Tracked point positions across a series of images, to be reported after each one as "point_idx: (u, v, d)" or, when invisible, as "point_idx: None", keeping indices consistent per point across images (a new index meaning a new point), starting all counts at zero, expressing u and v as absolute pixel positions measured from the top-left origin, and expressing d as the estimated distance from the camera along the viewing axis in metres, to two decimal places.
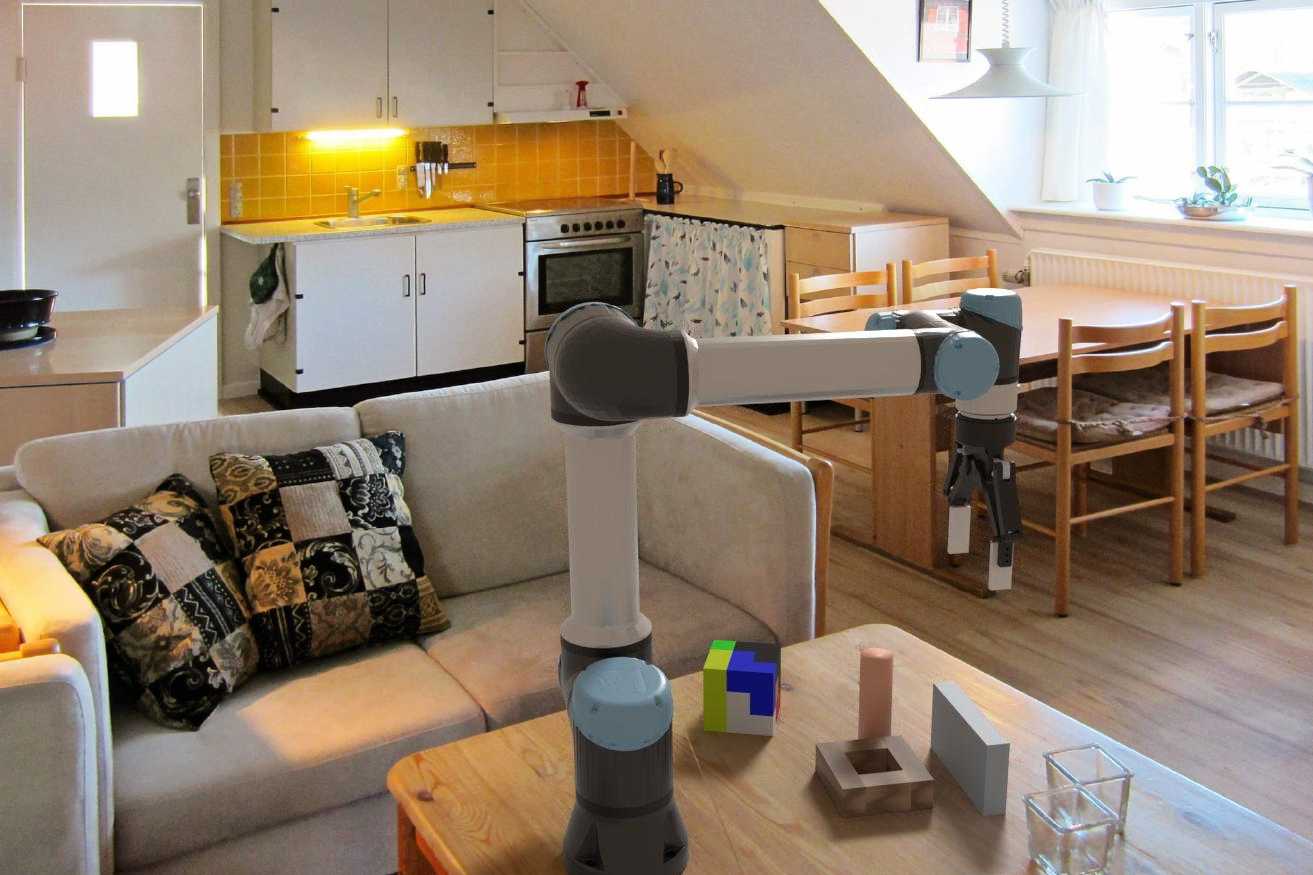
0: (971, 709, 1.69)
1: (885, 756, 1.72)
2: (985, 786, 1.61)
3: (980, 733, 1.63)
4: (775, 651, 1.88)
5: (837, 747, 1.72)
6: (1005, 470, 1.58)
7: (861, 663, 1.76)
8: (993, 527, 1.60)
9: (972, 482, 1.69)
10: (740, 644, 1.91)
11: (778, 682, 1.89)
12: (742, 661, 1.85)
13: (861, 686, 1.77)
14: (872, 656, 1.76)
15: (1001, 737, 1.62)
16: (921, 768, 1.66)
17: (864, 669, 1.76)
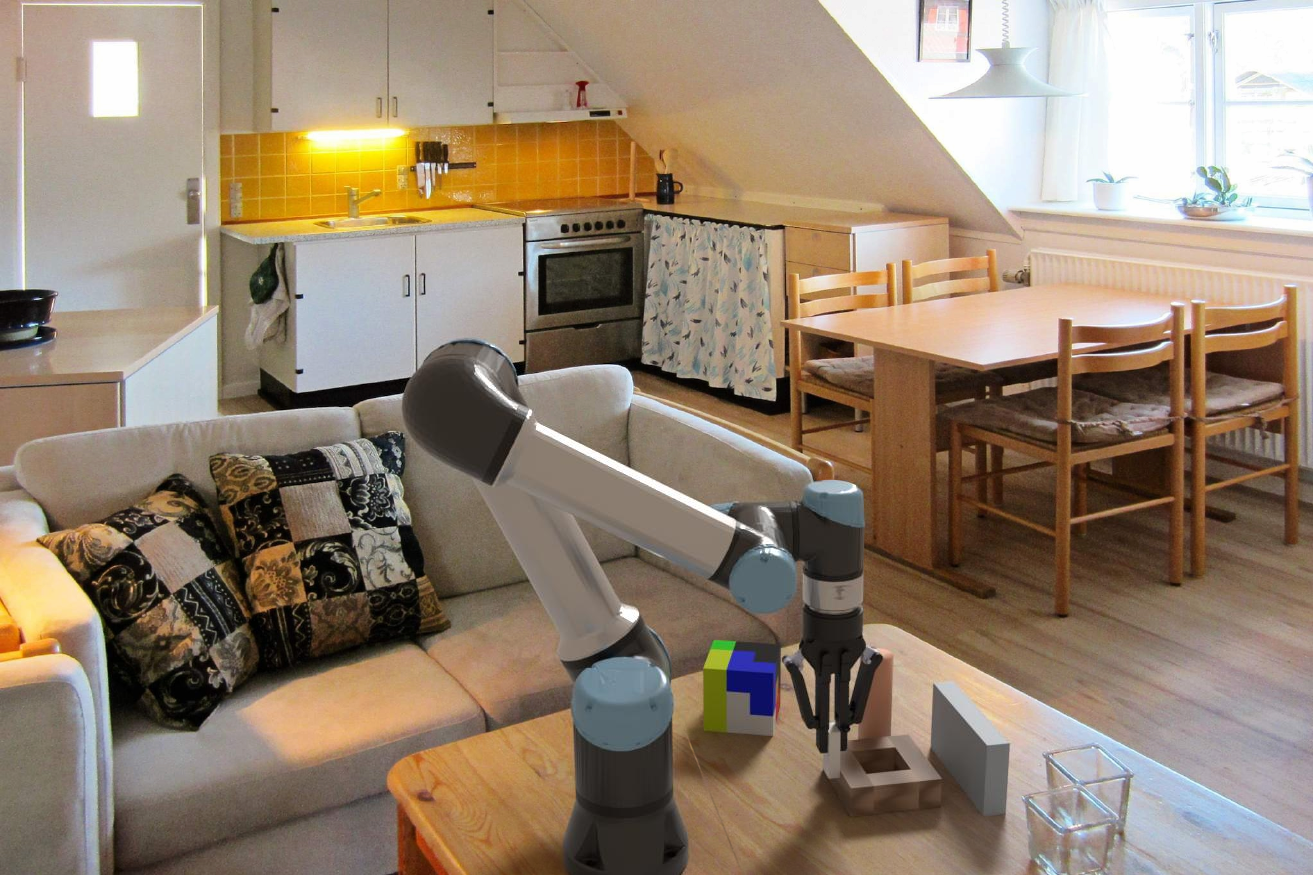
0: (971, 709, 1.69)
1: (893, 755, 1.72)
2: (985, 786, 1.61)
3: (980, 733, 1.63)
4: (775, 651, 1.88)
5: None
6: None
7: None
8: None
9: (837, 686, 1.64)
10: (740, 644, 1.91)
11: (778, 682, 1.89)
12: (742, 661, 1.85)
13: None
14: None
15: (1001, 737, 1.62)
16: (929, 768, 1.66)
17: None
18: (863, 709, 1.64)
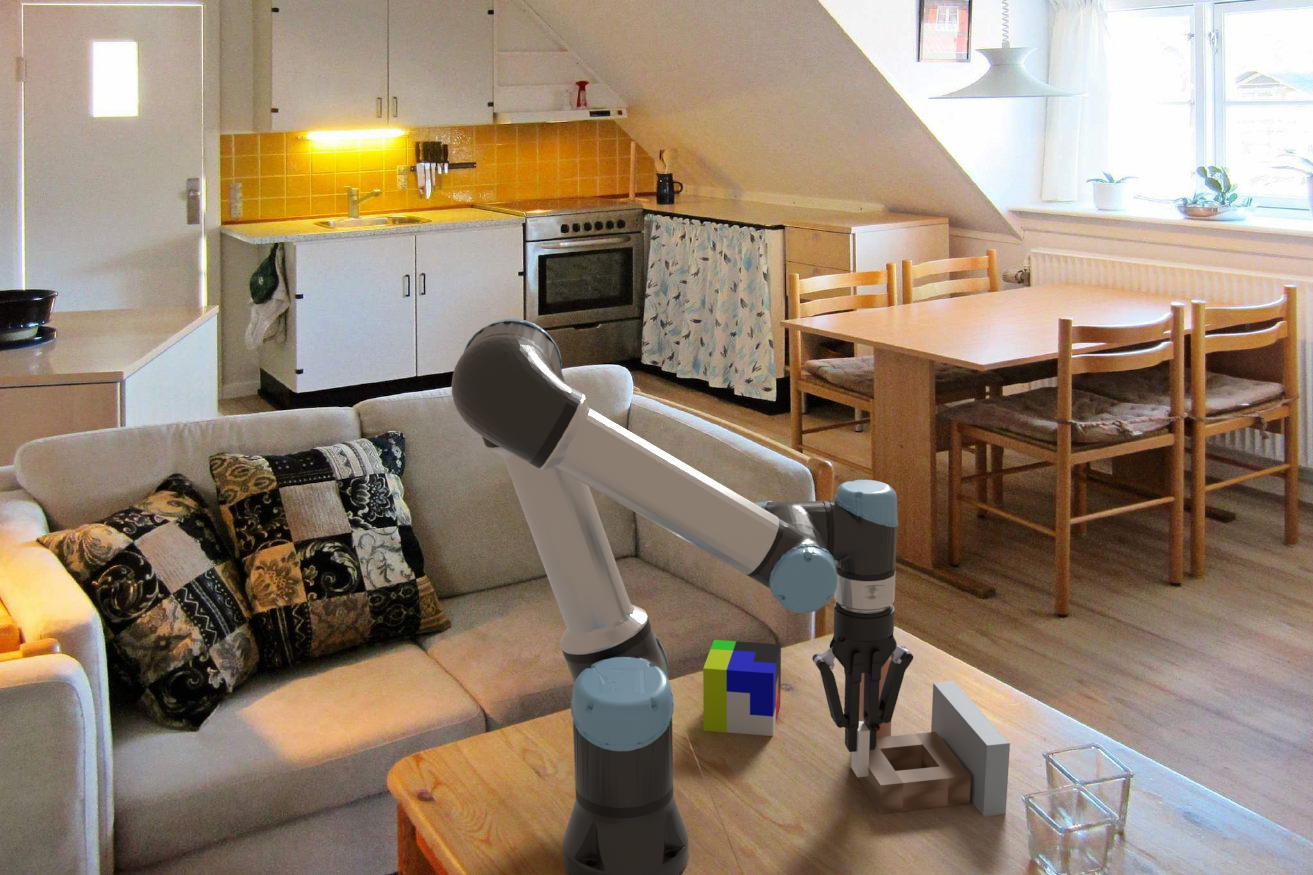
0: (971, 709, 1.69)
1: (920, 752, 1.72)
2: (985, 786, 1.61)
3: (980, 733, 1.63)
4: (775, 651, 1.88)
5: None
6: None
7: None
8: None
9: (867, 685, 1.65)
10: (740, 644, 1.91)
11: (778, 682, 1.89)
12: (742, 662, 1.85)
13: (861, 686, 1.77)
14: None
15: (1001, 737, 1.62)
16: (957, 765, 1.67)
17: None
18: (892, 708, 1.65)
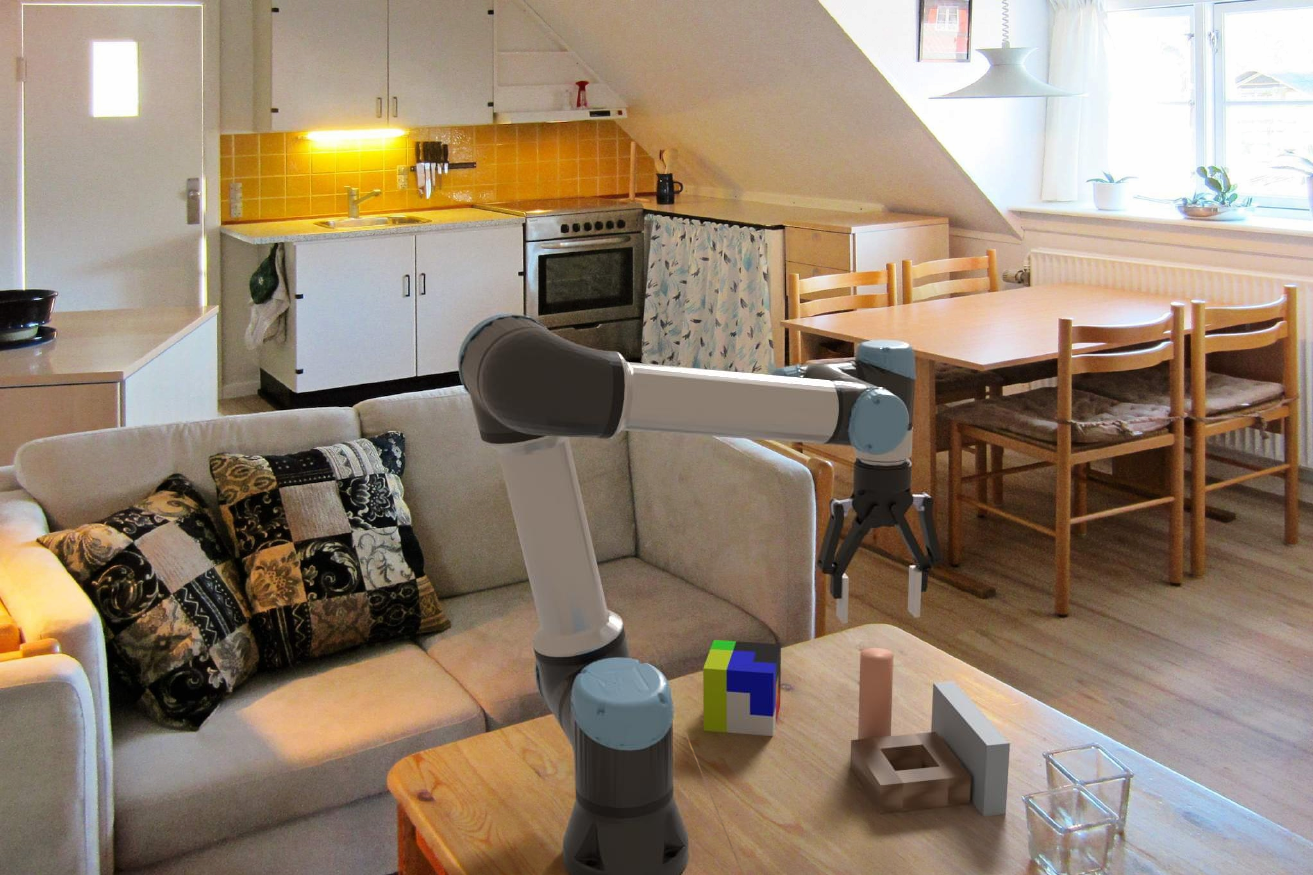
0: (971, 709, 1.69)
1: (920, 752, 1.72)
2: (985, 786, 1.61)
3: (980, 733, 1.63)
4: (775, 651, 1.88)
5: (872, 743, 1.72)
6: (831, 508, 1.70)
7: (861, 663, 1.76)
8: None
9: (903, 536, 1.72)
10: (740, 644, 1.91)
11: (778, 682, 1.89)
12: (742, 661, 1.85)
13: (861, 686, 1.77)
14: (872, 656, 1.76)
15: (1001, 737, 1.62)
16: (957, 765, 1.67)
17: (864, 669, 1.76)
18: (938, 550, 1.73)
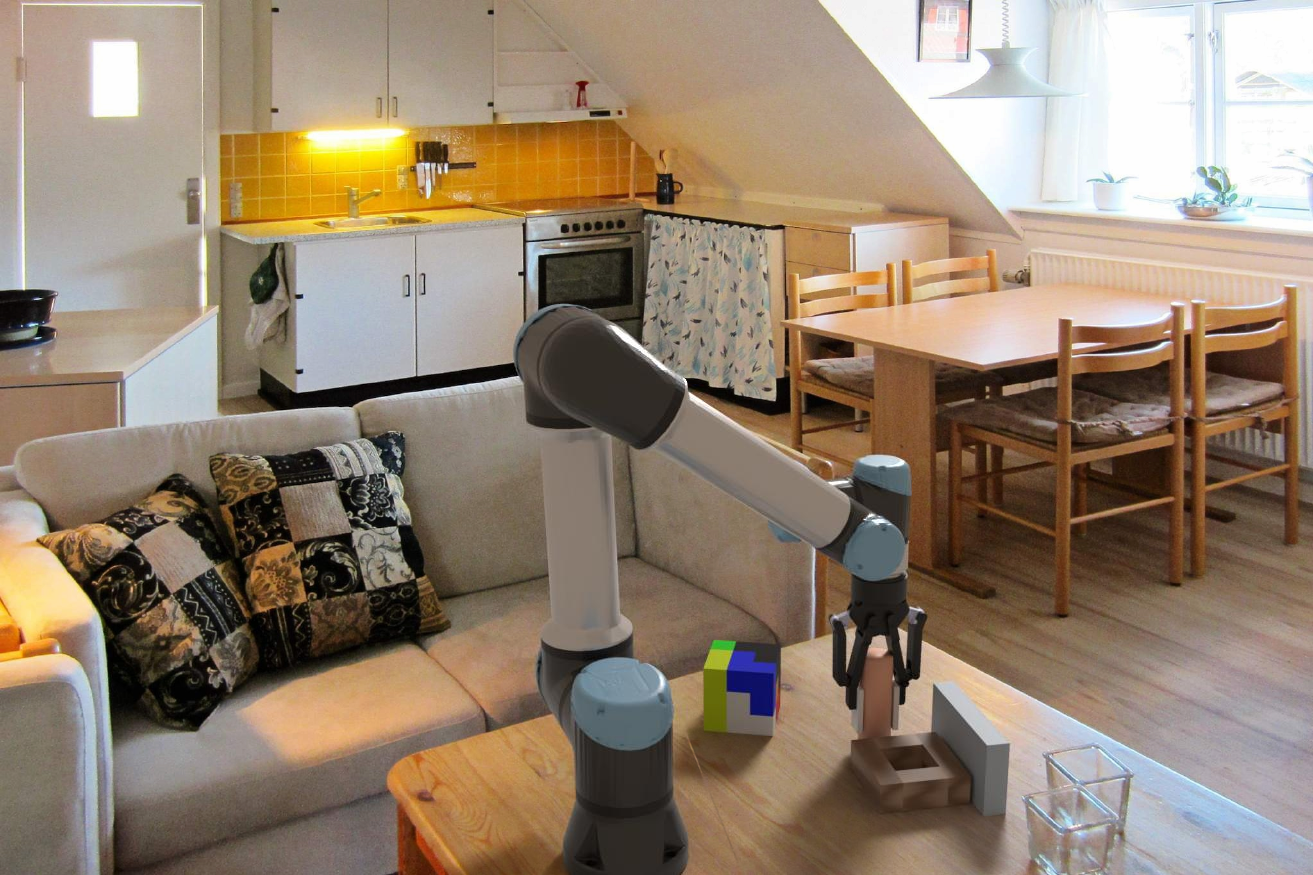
0: (971, 709, 1.69)
1: (920, 752, 1.72)
2: (985, 786, 1.61)
3: (980, 733, 1.63)
4: (775, 651, 1.88)
5: (872, 743, 1.72)
6: (831, 624, 1.74)
7: None
8: None
9: (890, 647, 1.76)
10: (740, 644, 1.91)
11: (778, 682, 1.89)
12: (742, 662, 1.85)
13: (861, 686, 1.77)
14: (872, 656, 1.76)
15: (1001, 737, 1.62)
16: (957, 765, 1.67)
17: (864, 669, 1.76)
18: (919, 665, 1.77)
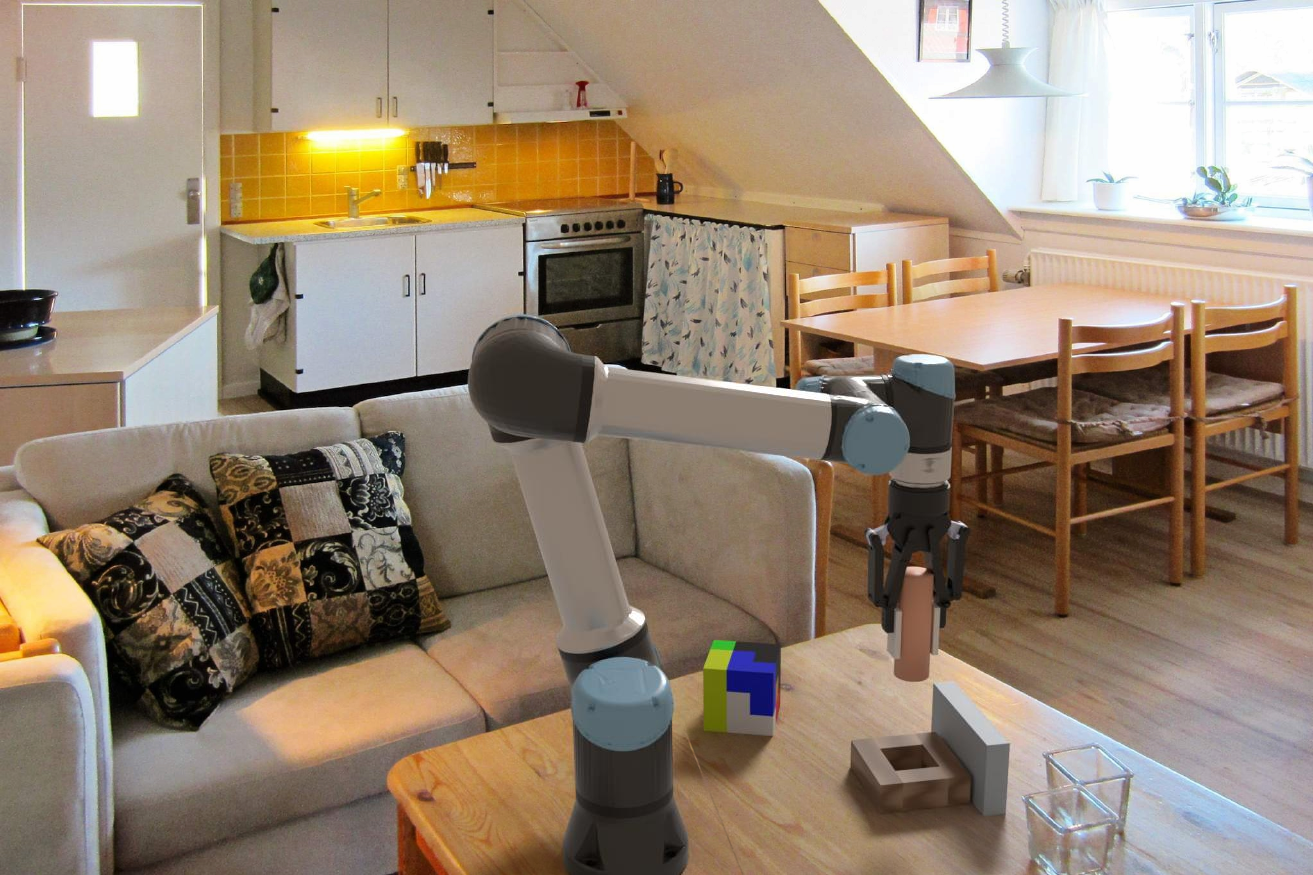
0: (971, 709, 1.69)
1: (920, 752, 1.72)
2: (985, 786, 1.61)
3: (980, 733, 1.63)
4: (775, 651, 1.88)
5: (872, 743, 1.72)
6: (868, 539, 1.61)
7: None
8: None
9: (930, 564, 1.63)
10: (740, 644, 1.91)
11: (778, 682, 1.89)
12: (742, 661, 1.85)
13: (898, 607, 1.64)
14: (911, 574, 1.63)
15: (1001, 737, 1.62)
16: (957, 765, 1.67)
17: (903, 588, 1.63)
18: (960, 584, 1.64)
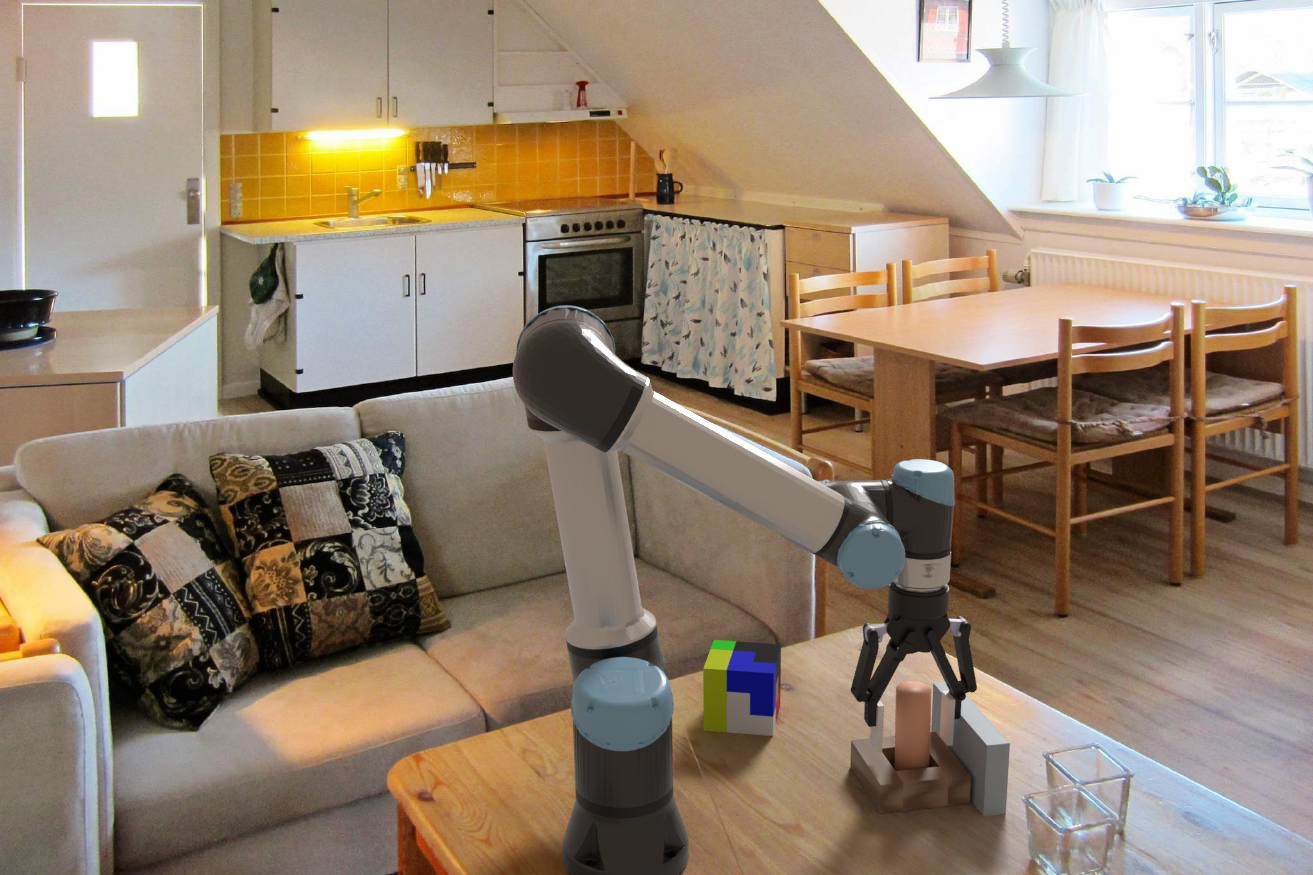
0: (971, 709, 1.69)
1: None
2: (985, 786, 1.61)
3: (980, 733, 1.63)
4: (775, 651, 1.88)
5: None
6: (865, 634, 1.63)
7: (897, 698, 1.66)
8: None
9: (937, 662, 1.66)
10: (740, 644, 1.91)
11: (778, 682, 1.89)
12: (742, 662, 1.85)
13: (897, 722, 1.67)
14: (909, 690, 1.66)
15: (1001, 737, 1.62)
16: (957, 765, 1.67)
17: (901, 705, 1.65)
18: (973, 677, 1.66)
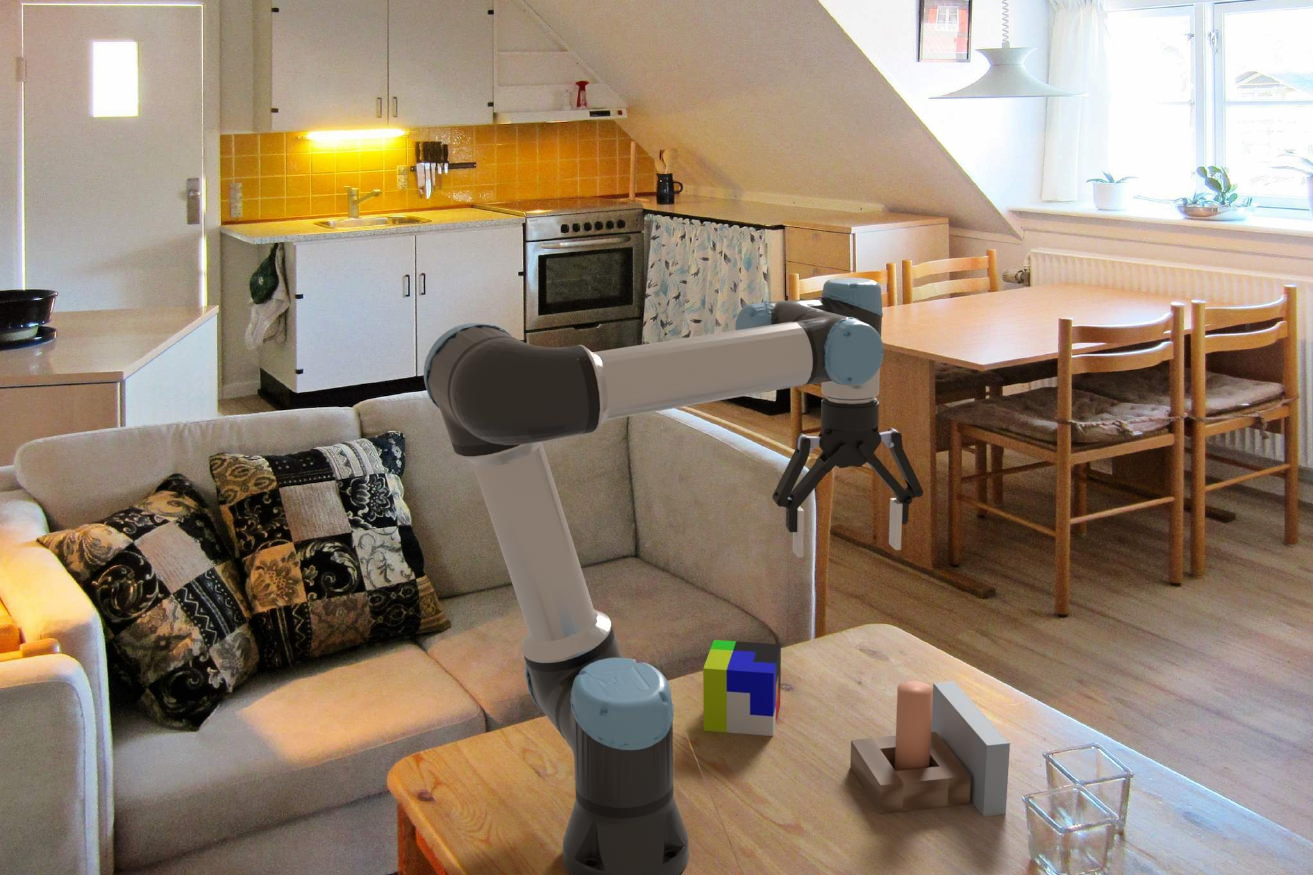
0: (971, 709, 1.69)
1: None
2: (985, 786, 1.61)
3: (980, 733, 1.63)
4: (775, 651, 1.88)
5: (872, 743, 1.72)
6: (798, 442, 1.69)
7: (898, 698, 1.66)
8: None
9: (877, 473, 1.72)
10: (740, 644, 1.91)
11: (778, 682, 1.89)
12: (742, 662, 1.85)
13: (898, 722, 1.67)
14: (911, 690, 1.66)
15: (1001, 737, 1.62)
16: (957, 765, 1.67)
17: (902, 704, 1.65)
18: (916, 482, 1.72)
